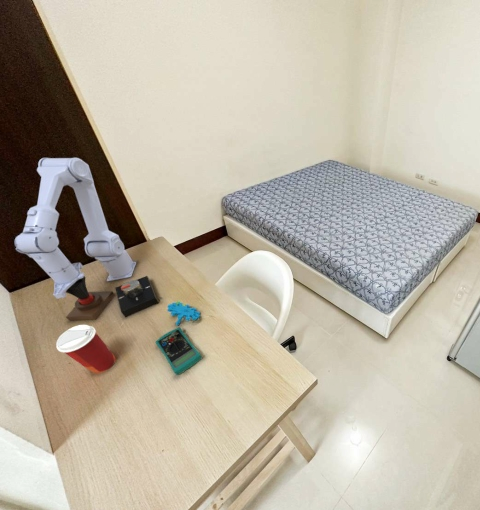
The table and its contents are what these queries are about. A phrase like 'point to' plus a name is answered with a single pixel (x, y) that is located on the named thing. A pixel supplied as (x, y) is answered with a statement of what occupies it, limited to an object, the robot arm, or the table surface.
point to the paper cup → (86, 348)
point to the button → (86, 299)
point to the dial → (132, 288)
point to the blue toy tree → (183, 311)
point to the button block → (91, 307)
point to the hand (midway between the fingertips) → (84, 297)
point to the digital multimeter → (178, 350)
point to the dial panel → (137, 298)
